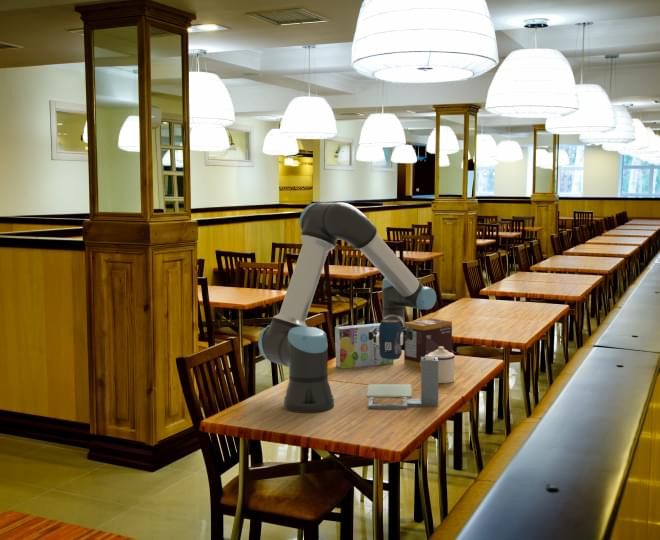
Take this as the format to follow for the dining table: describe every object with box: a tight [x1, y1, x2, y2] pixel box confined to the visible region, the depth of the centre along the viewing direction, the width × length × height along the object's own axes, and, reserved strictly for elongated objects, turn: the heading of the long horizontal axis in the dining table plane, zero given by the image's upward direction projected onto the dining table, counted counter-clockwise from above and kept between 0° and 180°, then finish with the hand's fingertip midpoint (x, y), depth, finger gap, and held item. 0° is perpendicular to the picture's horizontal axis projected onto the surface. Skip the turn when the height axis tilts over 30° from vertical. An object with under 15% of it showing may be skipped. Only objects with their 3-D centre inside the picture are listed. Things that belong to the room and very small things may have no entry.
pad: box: [365, 383, 412, 399], centre depth 245 cm, size 14×14×1 cm
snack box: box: [334, 322, 395, 370], centre depth 282 cm, size 21×6×15 cm, turn 108°
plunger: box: [425, 355, 434, 360], centre depth 229 cm, size 3×3×6 cm
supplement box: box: [403, 317, 453, 368], centre depth 284 cm, size 10×15×16 cm
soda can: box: [379, 318, 403, 360], centre depth 239 cm, size 7×7×12 cm
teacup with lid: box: [420, 346, 455, 384], centre depth 258 cm, size 12×9×12 cm
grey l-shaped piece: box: [367, 357, 439, 410], centre depth 229 cm, size 9×21×14 cm, turn 84°
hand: (389, 340), depth 234 cm, fingers closed on soda can, 7 cm apart
